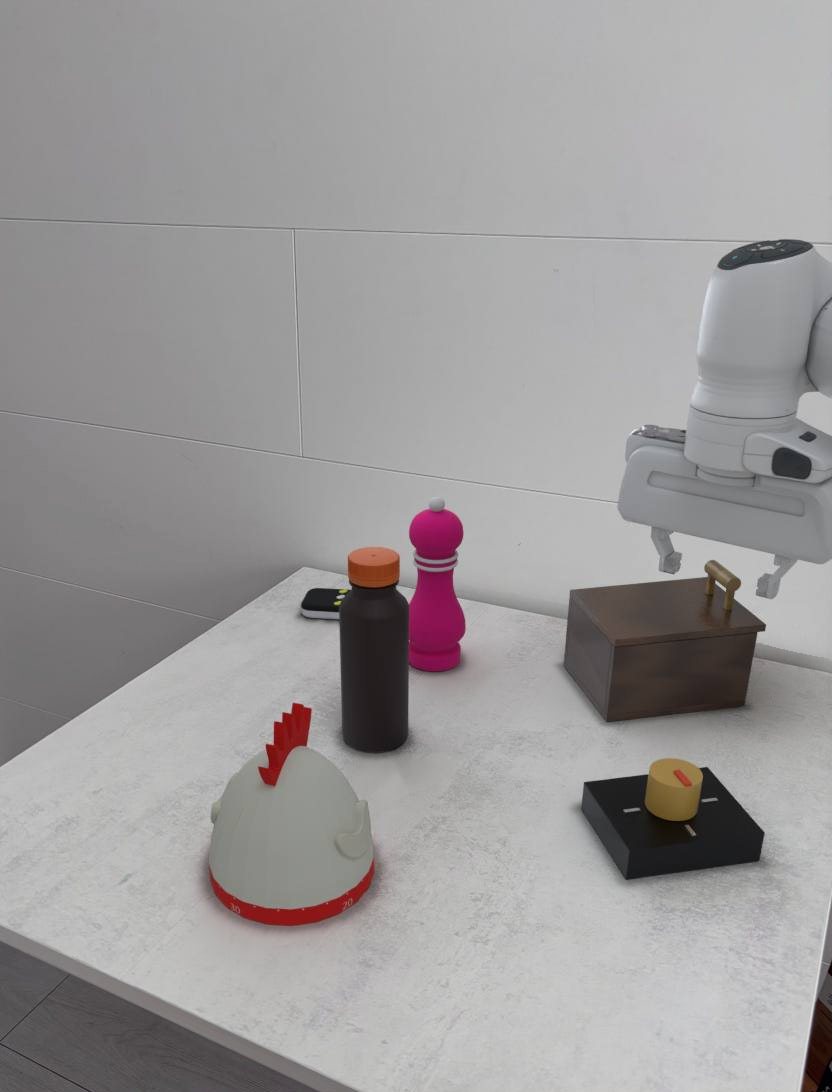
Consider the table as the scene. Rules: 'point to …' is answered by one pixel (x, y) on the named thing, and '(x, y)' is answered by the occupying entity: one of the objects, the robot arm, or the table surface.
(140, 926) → the table surface
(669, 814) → the lock dial
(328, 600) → the remote control
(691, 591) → the chest lid
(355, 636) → the bottle
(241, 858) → the kitchen timer
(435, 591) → the pepper mill
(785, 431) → the robot arm
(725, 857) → the rotary knob base
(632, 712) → the chest
